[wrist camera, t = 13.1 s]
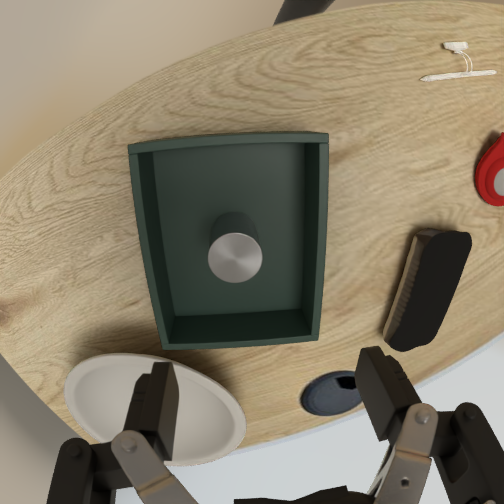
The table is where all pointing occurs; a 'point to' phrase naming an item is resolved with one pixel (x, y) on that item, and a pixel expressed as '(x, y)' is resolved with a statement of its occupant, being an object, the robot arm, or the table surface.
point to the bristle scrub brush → (426, 287)
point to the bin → (200, 226)
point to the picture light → (456, 48)
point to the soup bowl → (189, 409)
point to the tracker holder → (492, 174)
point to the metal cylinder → (234, 248)
